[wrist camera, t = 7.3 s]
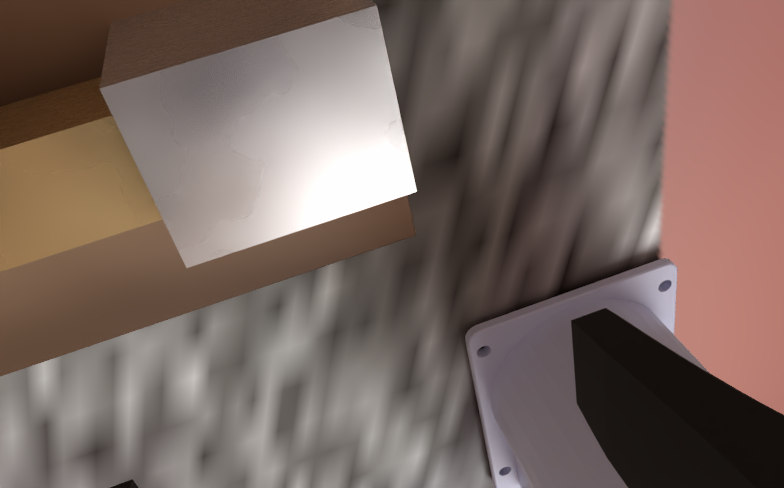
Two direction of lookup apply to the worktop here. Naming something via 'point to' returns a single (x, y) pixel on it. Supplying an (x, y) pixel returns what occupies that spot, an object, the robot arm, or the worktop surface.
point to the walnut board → (143, 244)
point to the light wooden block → (65, 176)
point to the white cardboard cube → (256, 116)
